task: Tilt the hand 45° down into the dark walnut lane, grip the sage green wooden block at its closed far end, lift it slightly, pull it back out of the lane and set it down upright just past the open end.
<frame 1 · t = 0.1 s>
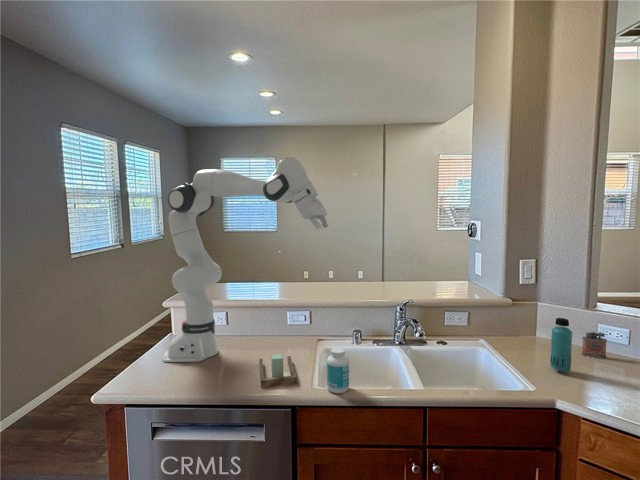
hand: (322, 227, 134), 54 cm above the countertop, tool tilted 30°, fingers open, 8 cm apart
lighter: (593, 356, 145), on the countertop
walnut lane: (276, 373, 134), on the countertop
beverage bottle: (560, 372, 132), on the countertop
sage block: (277, 377, 130), resting in walnut lane
pill bottle: (338, 389, 121), on the countertop
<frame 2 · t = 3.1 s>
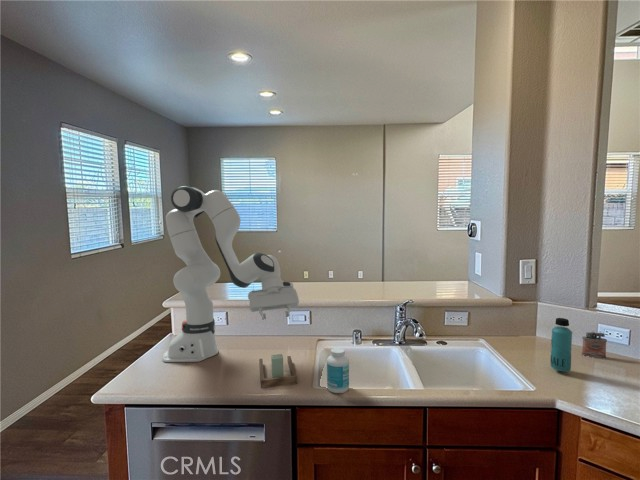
hand: (276, 317, 143), 18 cm above the countertop, tool tilted 45°, fingers open, 8 cm apart
nothing on the countertop moved.
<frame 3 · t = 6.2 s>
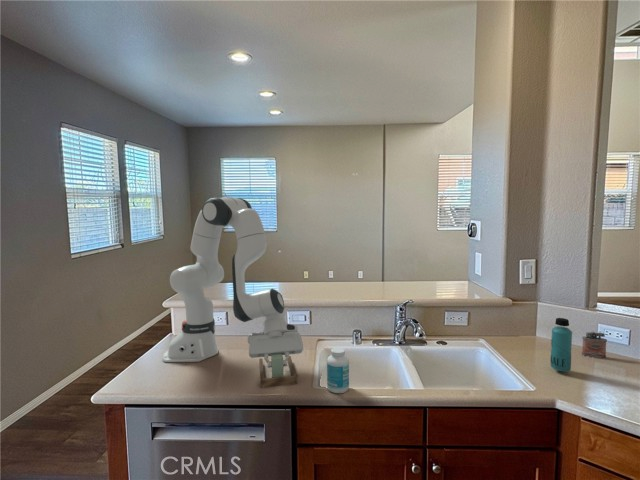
hand: (277, 366, 129), 5 cm above the countertop, tool tilted 45°, fingers closed on sage block, 4 cm apart
sage block: (277, 377, 130), resting in walnut lane, touching gripper
everything else where it was.
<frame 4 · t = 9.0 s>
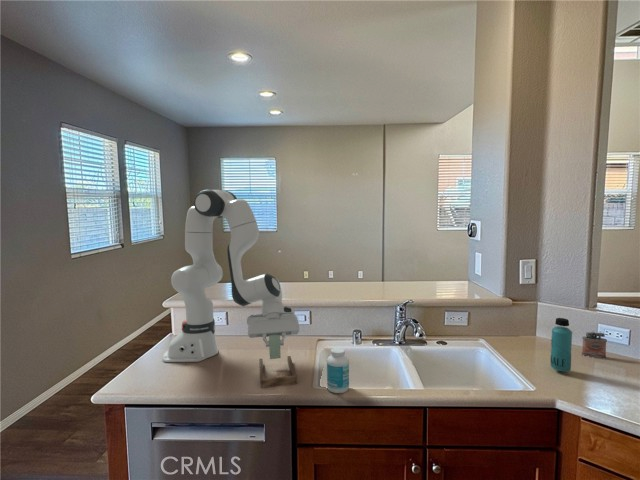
hand: (274, 345, 137), 9 cm above the countertop, tool tilted 45°, fingers closed on sage block, 4 cm apart
sage block: (274, 356, 138), point 5 cm above the countertop, touching gripper
everything else where it was.
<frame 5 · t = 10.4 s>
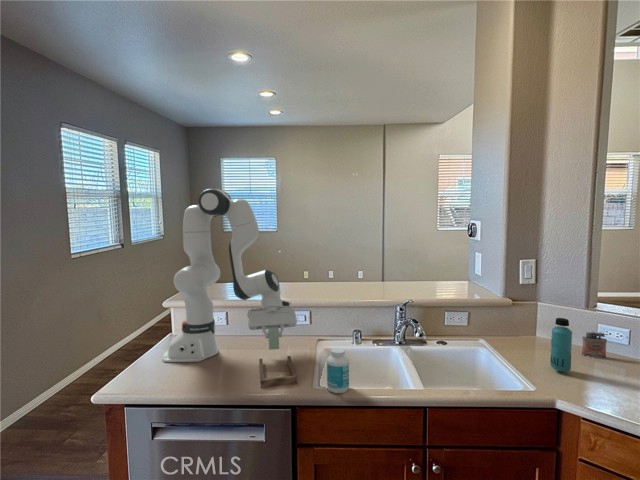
hand: (273, 337, 147), 9 cm above the countertop, tool tilted 45°, fingers closed on sage block, 4 cm apart
sage block: (273, 347, 148), point 5 cm above the countertop, touching gripper
everything else where it was.
when the fingers open (6 cm above the countertop, at t = 11.7 s): sage block drops 1 cm, on the countertop.
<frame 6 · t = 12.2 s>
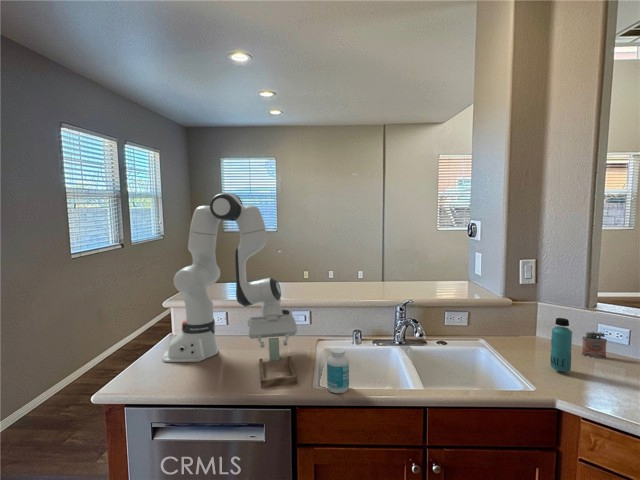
hand: (274, 345, 147), 6 cm above the countertop, tool tilted 45°, fingers open, 8 cm apart
sage block: (274, 358, 148), on the countertop
everything else where it was.
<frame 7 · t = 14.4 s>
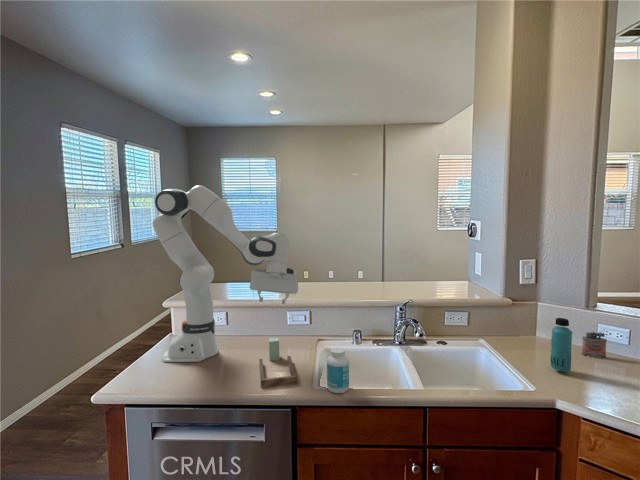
hand: (272, 302, 148), 23 cm above the countertop, tool tilted 25°, fingers open, 8 cm apart
nothing on the countertop moved.
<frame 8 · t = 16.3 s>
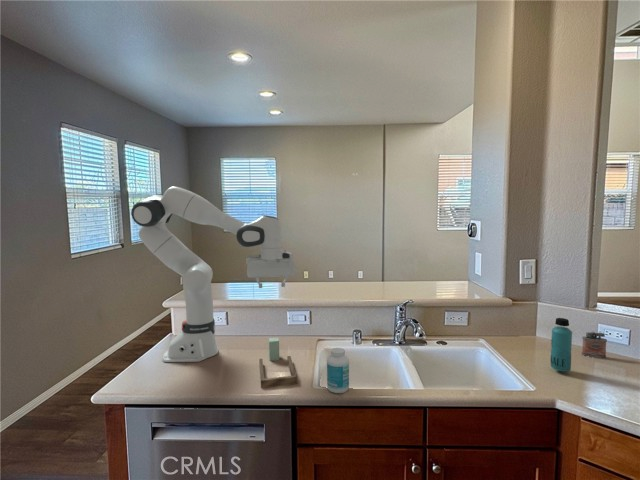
hand: (271, 287, 150), 29 cm above the countertop, tool pointing down, fingers open, 8 cm apart
nothing on the countertop moved.
at the end: sage block inside the target area (0.1 cm from its centre), on the countertop; sage block tilted 0°; the gripper is holding nothing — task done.
